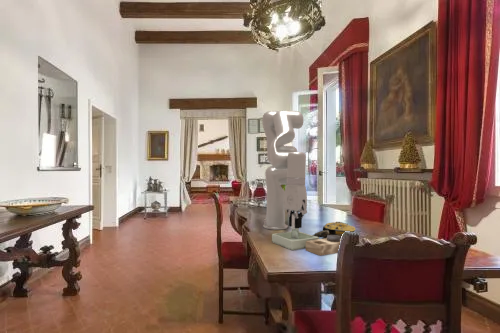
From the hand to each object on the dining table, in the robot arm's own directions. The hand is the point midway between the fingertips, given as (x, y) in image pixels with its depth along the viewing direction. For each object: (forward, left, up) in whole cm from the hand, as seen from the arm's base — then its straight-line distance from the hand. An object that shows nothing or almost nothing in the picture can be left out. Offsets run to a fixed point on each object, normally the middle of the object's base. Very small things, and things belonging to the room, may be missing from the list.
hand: (295, 226), depth 129 cm
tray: (0, 0, -7) cm, 7 cm away
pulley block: (-4, +25, -8) cm, 27 cm away
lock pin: (0, 0, -5) cm, 5 cm away
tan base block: (+13, +5, -7) cm, 16 cm away
